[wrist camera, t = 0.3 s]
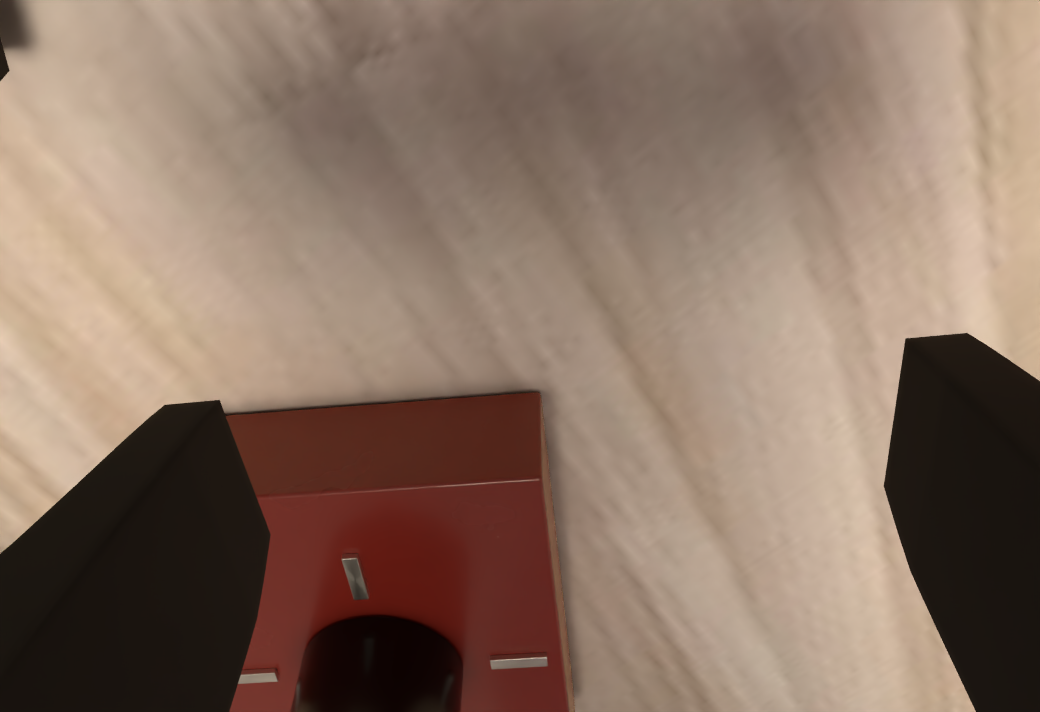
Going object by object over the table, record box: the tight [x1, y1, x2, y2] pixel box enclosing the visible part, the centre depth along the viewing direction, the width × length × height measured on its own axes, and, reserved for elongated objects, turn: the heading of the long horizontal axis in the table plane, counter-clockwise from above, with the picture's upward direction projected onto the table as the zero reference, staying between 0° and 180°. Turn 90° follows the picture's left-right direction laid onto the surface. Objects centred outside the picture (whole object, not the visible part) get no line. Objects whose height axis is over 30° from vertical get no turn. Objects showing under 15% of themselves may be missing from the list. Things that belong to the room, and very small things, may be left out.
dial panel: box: [225, 392, 575, 712], centre depth 25 cm, size 12×9×3 cm
